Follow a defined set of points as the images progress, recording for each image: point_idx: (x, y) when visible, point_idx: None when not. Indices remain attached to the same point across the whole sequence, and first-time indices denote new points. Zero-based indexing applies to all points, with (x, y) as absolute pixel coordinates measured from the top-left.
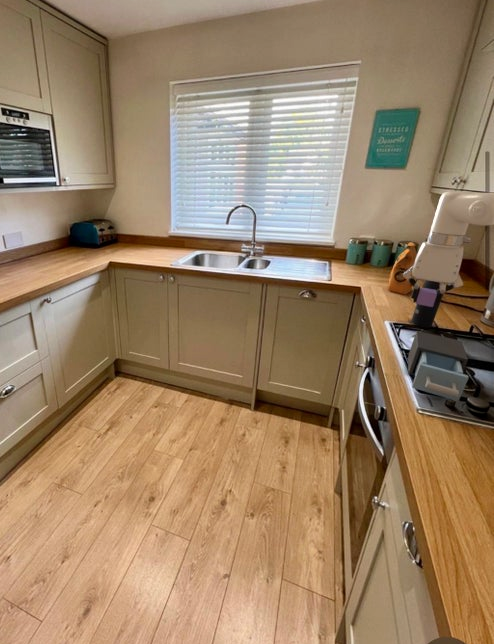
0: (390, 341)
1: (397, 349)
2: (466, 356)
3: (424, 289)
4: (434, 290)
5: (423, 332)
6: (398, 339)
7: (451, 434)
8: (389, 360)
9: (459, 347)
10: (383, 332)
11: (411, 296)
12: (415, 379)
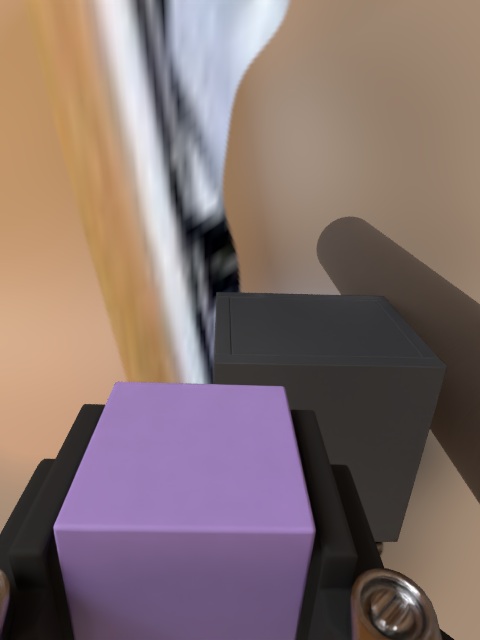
0: (129, 157)
1: (170, 245)
2: (400, 522)
3: (133, 603)
4: (281, 568)
5: (251, 365)
6: (168, 91)
7: None
8: (146, 375)
9: (402, 453)
10: (71, 18)
11: (44, 469)
12: None
